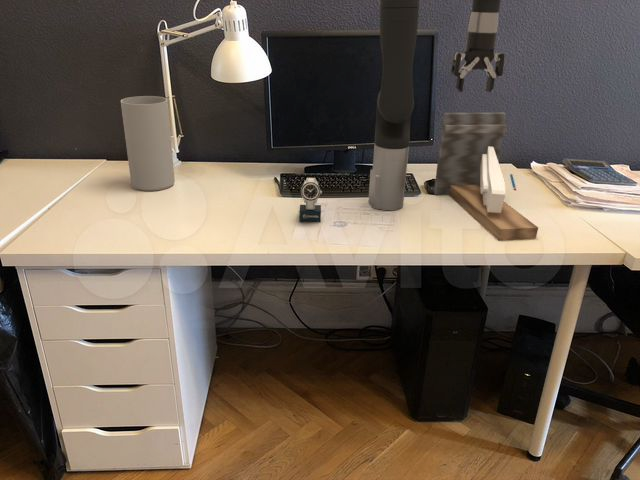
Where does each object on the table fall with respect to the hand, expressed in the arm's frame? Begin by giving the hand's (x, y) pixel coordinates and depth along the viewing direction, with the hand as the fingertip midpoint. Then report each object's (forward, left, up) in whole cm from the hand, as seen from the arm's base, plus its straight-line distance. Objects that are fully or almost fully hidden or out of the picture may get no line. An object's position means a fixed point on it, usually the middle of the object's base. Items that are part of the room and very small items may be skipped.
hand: (474, 91), depth 152 cm
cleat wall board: (0, -20, -30) cm, 36 cm away
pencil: (+21, +6, -30) cm, 37 cm away
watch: (-49, -18, -30) cm, 60 cm away
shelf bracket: (+1, -17, -27) cm, 32 cm away
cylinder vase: (-92, +13, -30) cm, 98 cm away
